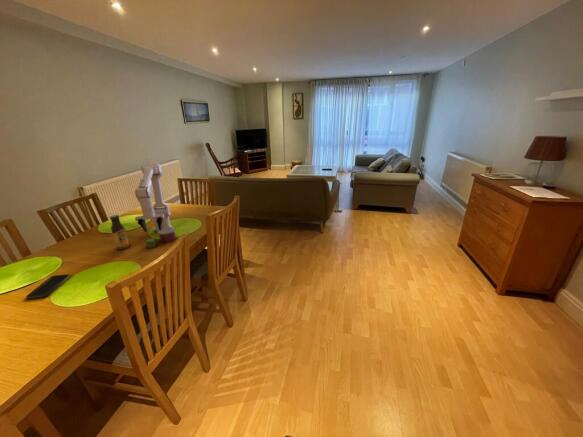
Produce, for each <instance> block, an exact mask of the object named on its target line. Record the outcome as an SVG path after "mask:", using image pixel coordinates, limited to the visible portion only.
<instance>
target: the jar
mask: <svg viewBox="0 0 583 437" xmlns="http://www.w3.org/2000/svg"><path fill="white" fill-rule="evenodd" d="M173 227H174V226H172V227H166V228H162V229H161V231H159V230H158V231H157V235H158V238H159V241H160V242H161V243H170V242H172V241H175V240H176V239H177V235H176V229H175V227H174V228H173Z"/></svg>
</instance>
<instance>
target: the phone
mask: <svg viewBox="0 0 583 437" xmlns="http://www.w3.org/2000/svg"><path fill="white" fill-rule="evenodd" d="M68 279H70V274H58V275H56V274H55V275H52V276H49V278H48V279H46V280H45V281H43V282H42V283H41V284H40V285H38V286H37V287H36V288H34V289H33V290H31V292H29V293H28V294H27V295H26V296H25V298H26V299H27V300H34V299H35V300H36V299H44V298H46V297H49V296H50V295H51V294H53V292H54V291H55V290H57V289H58V288H59V287H60V286H61V285H62V284H64V283H65V282H66V281H67V280H68Z"/></svg>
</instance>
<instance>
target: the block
mask: <svg viewBox="0 0 583 437" xmlns="http://www.w3.org/2000/svg"><path fill="white" fill-rule="evenodd" d="M157 244H158V243H157V239H156V237H154V238H147V239H146V241H145V245H146V249H151V248H156V246H157Z"/></svg>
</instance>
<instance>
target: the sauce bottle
mask: <svg viewBox="0 0 583 437" xmlns="http://www.w3.org/2000/svg"><path fill="white" fill-rule="evenodd" d="M109 219H110V221H111V227H110V230H111V235H112V238H113V240H114V244H115V247H116V249H117V250H125V249H128V248H129V247H130V242H129V239H128V235H127V231H126V228H125V227H124V225H123V224H122V223H121V220H120V215H119V214H113V215H110V216H109Z"/></svg>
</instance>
